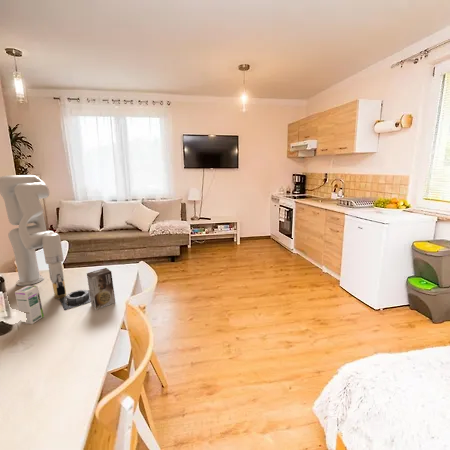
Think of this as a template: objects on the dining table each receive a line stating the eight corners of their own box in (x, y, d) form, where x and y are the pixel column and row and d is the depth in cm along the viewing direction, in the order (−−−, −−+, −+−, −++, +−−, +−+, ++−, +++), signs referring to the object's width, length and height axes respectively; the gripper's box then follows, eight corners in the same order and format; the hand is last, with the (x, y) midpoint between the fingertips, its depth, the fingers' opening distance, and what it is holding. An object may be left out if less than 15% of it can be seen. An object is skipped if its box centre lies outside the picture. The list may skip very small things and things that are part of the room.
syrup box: (32, 324, 112) (26, 292, 108) (20, 323, 113) (14, 291, 110) (44, 316, 117) (38, 285, 114) (32, 315, 118) (26, 285, 115)
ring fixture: (59, 298, 133) (58, 293, 132) (90, 290, 141) (89, 285, 141) (64, 310, 122) (63, 304, 122) (97, 300, 131) (96, 294, 130)
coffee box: (110, 298, 132) (106, 267, 129) (115, 302, 128) (112, 270, 124) (90, 305, 126) (86, 272, 123) (95, 310, 122) (91, 276, 118)
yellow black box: (54, 296, 136) (51, 280, 134) (65, 292, 139) (62, 277, 137) (55, 299, 132) (52, 283, 130) (67, 296, 135) (64, 280, 134)
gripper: (43, 256, 136) (48, 287, 139) (47, 265, 123) (53, 299, 126) (60, 252, 140) (65, 283, 144) (66, 261, 127) (71, 294, 131)
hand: (59, 291), depth 135 cm, fingers open, 9 cm apart
